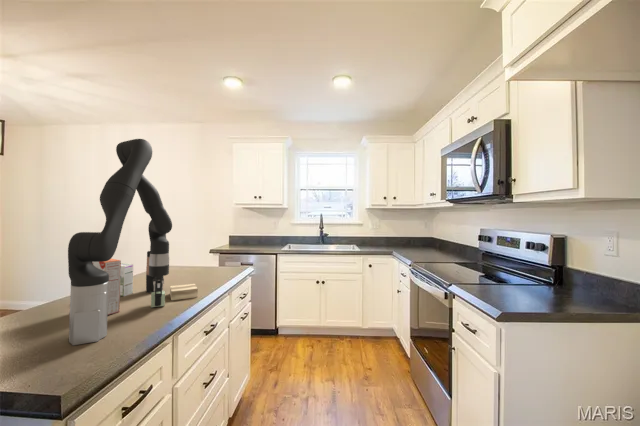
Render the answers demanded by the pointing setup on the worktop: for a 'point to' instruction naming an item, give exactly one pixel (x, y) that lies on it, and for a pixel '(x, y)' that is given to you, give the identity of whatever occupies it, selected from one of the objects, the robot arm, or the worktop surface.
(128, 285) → the syrup box
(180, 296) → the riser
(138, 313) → the worktop surface
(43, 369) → the worktop surface
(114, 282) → the cracker box
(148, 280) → the travel mug
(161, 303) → the cube
